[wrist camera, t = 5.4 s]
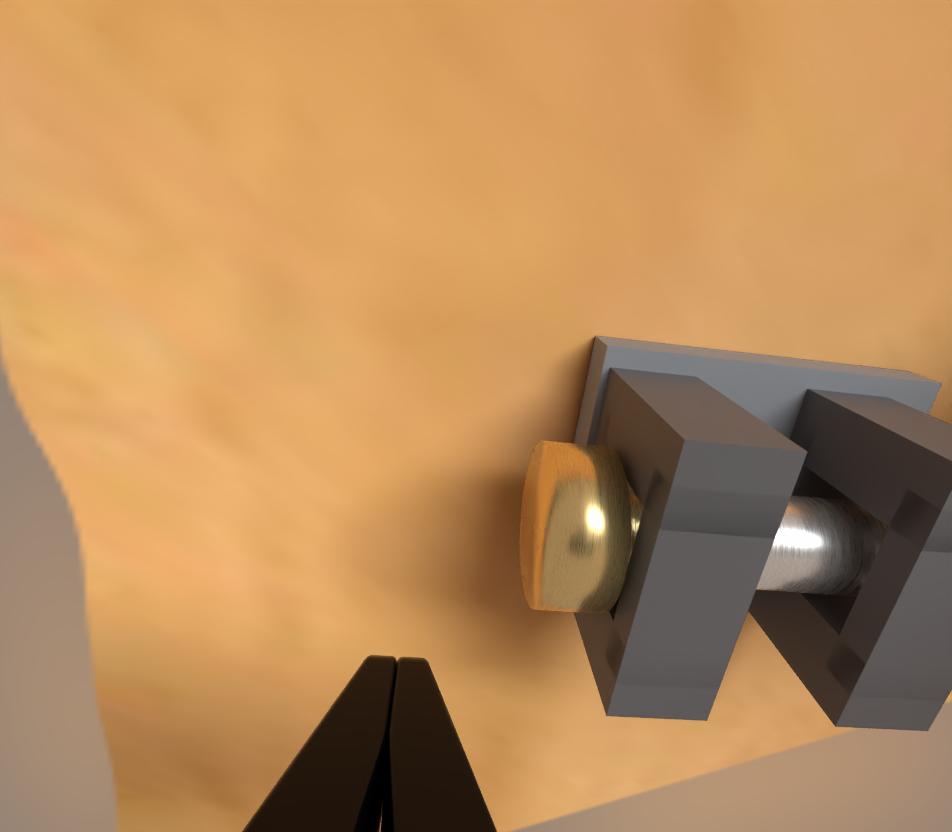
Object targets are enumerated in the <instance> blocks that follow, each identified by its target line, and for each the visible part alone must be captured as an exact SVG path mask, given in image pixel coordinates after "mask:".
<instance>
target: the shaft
mask: <svg viewBox="0 0 952 832" xmlns="http://www.w3.org/2000/svg"><path fill="white" fill-rule="evenodd" d="M643 508H644V506H643V504H642V503H641V501H640V500H639V498H638V497H637V495H636V494H635V492H634V491H633V489H632V488H631V486H630V485H629V483H628V482H627V478H626V474H625V471H624V468H623V465H622V463H621V460H620V458H619V457H618V455H617V453H616V452H615V451H614V450H613V449H612V448H610V447H607V446H597V445H586V444H575V443H565V442H554V441H540V442H539V443H538V444H537V445H536V447H535V449H534V451H533V453H532V456H531V459H530V462H529V466H528V469H527V474H526V479H525V484H524V490H523V498H522V507H521V518H520V569H521V579H522V586H523V591H524V595H525V598H526V601H527V603H528V605H529V607H530V608H531V609H534V610H549V611H565V612H580V613H596V614H604V613H606V612H608V611H609V610H610V609H611V608H612V607H613V606H614V604H615V603H616V601H617V599H618V597H619V595H620V592H621V590H622V587H623V583H624V580H625V576H626V572H627V568H628V564H629V561H630V557H631V553H632V549H633V546H634V542H635V538H636V534H637V531H638V527H639V523H640V519H641V516H642V512H643ZM888 528H889V527H888V526H887V525H886V524H884V523H883V522H881V521H880V520H879V519H877V518H876V517H874V516H873V515H872V514H870V513H869V512H868V511H866V510H865V509H863V508H862V507H861V506H859V505H858V504H856V503H855V502H854V501H850V500H838V499H827V498H816V497H804V496H793V495H791V497H790V500H789V503H788V505H787V508H786V511H785V513H784V516H783V519H782V521H781V524H780V527H779V529H778V532H777V535H776V537H775V540H774V543H773V545H772V548H771V551H770V553H769V556H768V559H767V562H766V564H765V567H764V570H763V572H762V575H761V578H760V580H759V583H758V586H757V588H756V589H757V590H772V591H786V592H800V593H814V594H828V595H842V596H856V597H857V596H858V594H859V592H860V589H861V587H862V585H863V583H864V581H865V578H866V576H867V574H868V572H869V570H870V568H871V565H872V563H873V561H874V559H875V557H876V554H877V552H878V550H879V548H880V546H881V544H882V541H883V539H884V537H885V535H886V533H887V530H888Z"/></svg>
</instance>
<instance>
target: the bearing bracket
mask: <svg viewBox="0 0 952 832" xmlns="http://www.w3.org/2000/svg"><path fill="white" fill-rule="evenodd" d="M941 385H942V383H940V382H937V381H934V380H931V379H928V378H926V377H923V376H920V375H917V374H914V373H912V372H909V371H902V370H893V369H884V368H876V367H867V366H858V365H849V364H840V363H831V362H823V361H814V360H805V359H796V358H787V357H779V356H770V355H761V354H752V353H743V352H735V351H726V350H717V349H708V348H699V347H690V346H682V345H673V344H664V343H655V342H646V341H638V340H629V339H620V338H611V337H602V336H595V341H594V346H593V351H592V356H591V361H590V366H589V371H588V375H587V380H586V385H585V390H584V395H583V400H582V405H581V410H580V414H579V419H578V424H577V429H576V434H575V439H574V443H575V444H586V445H597V446H607V447H610V448H612V449H613V450H614V451H615V452H616V453H617V455H618V457H619V458H620V460H621V463H622V465H623V468H624V471H625V474H626V478H627V482H628V483H629V485H630V486H631V488H632V489H633V491H634V492H635V494H636V495H637V497H638V498H639V500H640V501H641V503H642V504H643V506H644V508H643V512H642V516H641V519H640V523H639V527H638V531H637V534H636V538H635V542H634V546H633V549H632V553H631V557H630V561H629V564H628V568H627V572H626V576H625V580H624V583H623V587H622V590H621V592H620V595H619V597H618V599H617V601H616V603H615V604H614V606H613V607H612V608H611V609H610V610H609V611H608V612H606V613H604V614H596V613H580V612H574V615H575V618H576V621H577V624H578V627H579V630H580V634H581V637H582V640H583V643H584V646H585V649H586V653H587V656H588V659H589V662H590V665H591V668H592V672H593V675H594V678H595V681H596V684H597V687H598V691H599V694H600V697H601V700H602V703H603V706H604V710H605V713H606V716H618V717H640V718H661V719H683V720H704V721H707V719H708V716H709V714H710V711H711V708H712V706H713V703H714V700H715V698H716V695H717V692H718V690H719V687H720V684H721V682H722V679H723V676H724V674H725V671H726V668H727V666H728V663H729V660H730V658H731V655H732V652H733V650H734V647H735V644H736V642H737V639H738V636H739V634H740V631H741V628H742V626H743V623H744V620H745V618H746V615H747V612H748V611H749V612H750V613H751V615H752V616H753V617H754V619H755V620H756V621H757V623H758V624H759V625H760V627H761V628H762V629H763V631H764V632H765V633H766V635H767V636H768V637H769V639H770V640H771V641H772V643H773V644H774V645H775V647H776V648H777V649H778V651H779V652H780V653H781V655H782V656H783V657H784V659H785V660H786V661H787V663H788V664H789V665H790V667H791V668H792V669H793V671H794V672H795V673H796V675H797V676H798V677H799V679H800V680H801V681H802V683H803V684H804V685H805V687H806V688H807V689H808V691H809V692H810V693H811V695H812V696H813V697H814V699H815V700H816V701H817V703H818V704H819V705H820V707H821V708H822V709H823V711H824V712H825V713H826V715H827V716H828V717H829V719H830V720H831V721H832V723H833V724H834V725H835V727H855V728H876V729H898V730H920V731H928V730H929V728H930V726H931V725H932V723H933V721H934V719H935V718H936V716H937V714H938V713H939V711H940V709H941V707H942V706H943V704H944V702H945V700H946V699H947V697H948V695H949V694H950V692H951V690H952V425H951V424H949V423H946V422H944V421H942V420H939V419H937V418H935V417H932V416H930V415H928V414H929V412H930V410H931V407H932V405H933V403H934V401H935V398H936V396H937V394H938V392H939V390H940V387H941ZM791 495H793V496H804V497H816V498H827V499H838V500H850V501H854V502H855V503H856V504H858V505H859V506H861V507H862V508H863V509H865V510H866V511H868V512H869V513H870V514H872V515H873V516H874V517H876V518H877V519H879V520H880V521H881V522H883V523H884V524H886V525H887V526H888V527H889V528H888V530H887V533H886V535H885V537H884V539H883V541H882V544H881V546H880V548H879V550H878V552H877V554H876V557H875V559H874V561H873V563H872V565H871V568H870V570H869V572H868V574H867V576H866V578H865V581H864V583H863V585H862V587H861V589H860V592H859V594H858V596H857V597H856V596H842V595H828V594H814V593H800V592H786V591H772V590H757V589H756V588H757V586H758V583H759V580H760V578H761V575H762V572H763V570H764V567H765V564H766V562H767V559H768V556H769V553H770V551H771V548H772V545H773V543H774V540H775V537H776V535H777V532H778V529H779V527H780V524H781V521H782V519H783V516H784V513H785V511H786V508H787V505H788V503H789V500H790V497H791Z"/></svg>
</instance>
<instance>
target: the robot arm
mask: <svg viewBox="0 0 952 832" xmlns="http://www.w3.org/2000/svg"><path fill="white" fill-rule="evenodd" d="M381 816H382V821H381ZM380 824H381V832H497V830H496V828H495V825H494V823H493V820H492V818H491V816H490V813H489V811H488V808H487V806H486V803H485V801H484V798H483V796H482V793H481V791H480V789H479V786H478V784H477V781H476V779H475V776H474V774H473V771H472V769H471V766H470V764H469V761H468V759H467V757H466V754H465V752H464V749H463V747H462V744H461V742H460V739H459V737H458V734H457V732H456V729H455V727H454V725H453V722H452V720H451V717H450V715H449V712H448V710H447V707H446V705H445V702H444V700H443V697H442V695H441V693H440V690H439V688H438V685H437V683H436V680H435V678H434V675H433V673H432V670H431V668H430V665H429V663H428V662H427V660H426V659H424V658H415V657H401V658H399V659H398V661H397V660H396V658H395V657H393V656H378V655H370V656H368V657H367V658H366V659H365V660H364V662H363V663H362V664H361V666H360V667H359V669H358V670H357V671H356V673H355V674H354V676H353V677H352V678H351V680H350V681H349V683H348V684H347V685H346V687H345V688H344V690H343V691H342V692H341V694H340V695H339V697H338V698H337V699H336V701H335V702H334V704H333V705H332V706H331V708H330V709H329V711H328V712H327V713H326V715H325V716H324V718H323V719H322V720H321V722H320V723H319V725H318V726H317V727H316V729H315V730H314V732H313V733H312V734H311V736H310V737H309V739H308V740H307V741H306V743H305V744H304V746H303V747H302V748H301V750H300V751H299V753H298V754H297V755H296V757H295V758H294V760H293V761H292V762H291V764H290V765H289V767H288V768H287V769H286V771H285V772H284V774H283V775H282V776H281V778H280V779H279V781H278V782H277V783H276V785H275V786H274V788H273V789H272V790H271V792H270V793H269V795H268V796H267V797H266V799H265V800H264V802H263V803H262V804H261V806H260V807H259V809H258V810H257V811H256V813H255V814H254V816H253V817H252V818H251V820H250V821H249V823H248V824H247V825H246V827H245V828H244V830H243V831H242V832H379V831H380Z"/></svg>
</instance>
